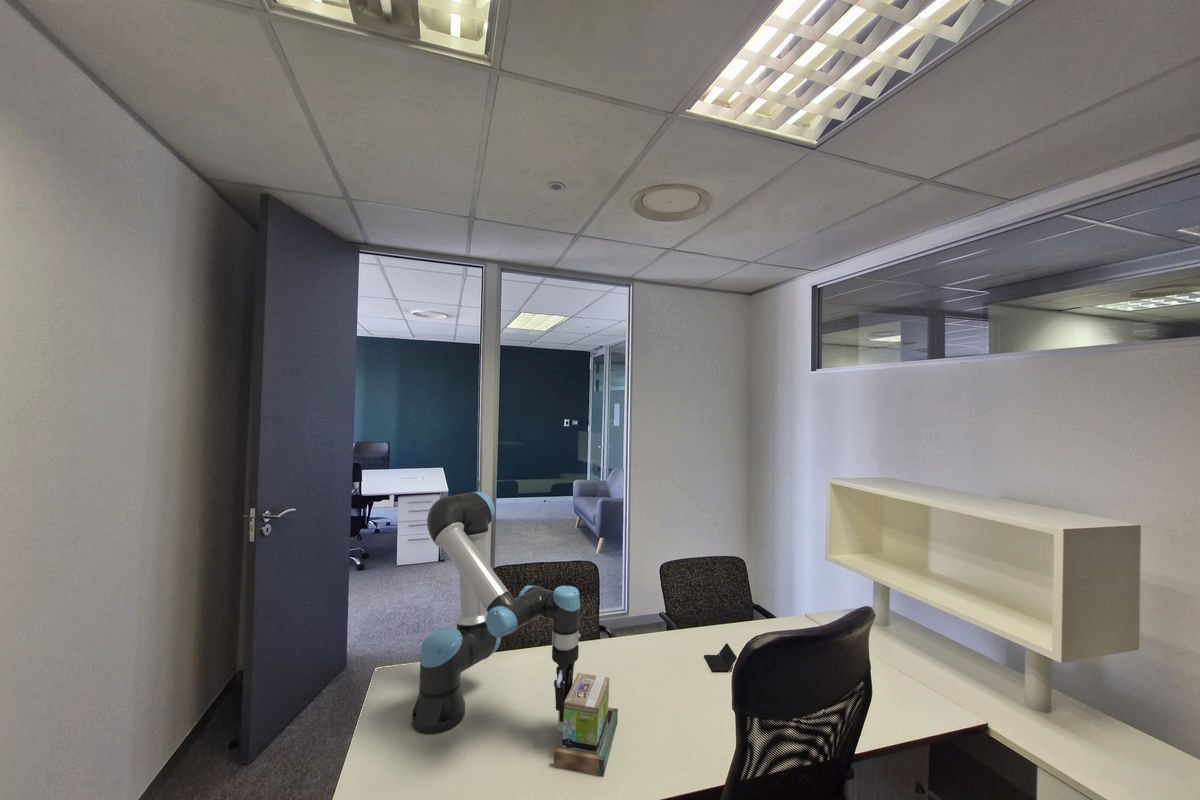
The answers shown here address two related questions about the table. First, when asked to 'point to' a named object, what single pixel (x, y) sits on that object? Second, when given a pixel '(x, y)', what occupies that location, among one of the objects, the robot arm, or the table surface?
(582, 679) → the tea box
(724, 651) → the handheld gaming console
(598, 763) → the bay
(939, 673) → the table surface
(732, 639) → the table surface
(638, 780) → the table surface
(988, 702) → the table surface
